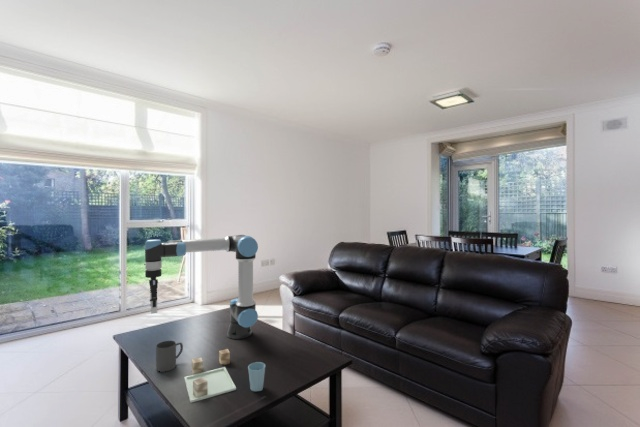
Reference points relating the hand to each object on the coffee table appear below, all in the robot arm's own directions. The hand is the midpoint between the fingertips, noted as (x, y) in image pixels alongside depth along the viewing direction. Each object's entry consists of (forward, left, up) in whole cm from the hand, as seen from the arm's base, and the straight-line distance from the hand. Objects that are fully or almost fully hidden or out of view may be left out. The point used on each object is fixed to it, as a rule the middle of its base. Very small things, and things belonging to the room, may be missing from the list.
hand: (153, 309), depth 165 cm
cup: (-39, +51, -28) cm, 70 cm away
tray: (-21, +37, -28) cm, 51 cm away
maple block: (-16, +44, -27) cm, 54 cm away
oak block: (-32, +19, -28) cm, 47 cm away
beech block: (-18, +22, -28) cm, 40 cm away
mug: (-7, +9, -28) cm, 30 cm away
